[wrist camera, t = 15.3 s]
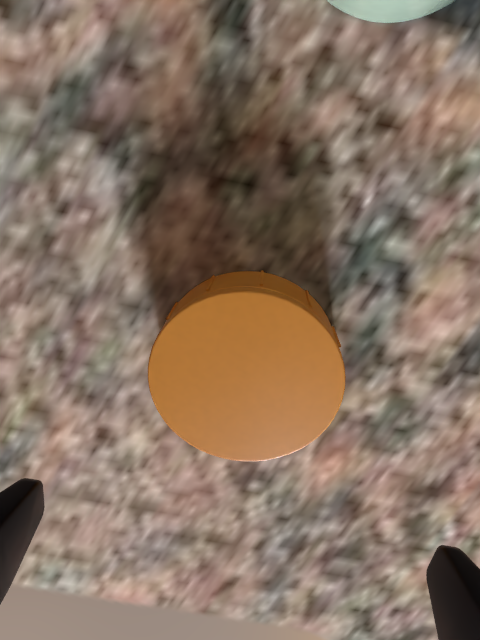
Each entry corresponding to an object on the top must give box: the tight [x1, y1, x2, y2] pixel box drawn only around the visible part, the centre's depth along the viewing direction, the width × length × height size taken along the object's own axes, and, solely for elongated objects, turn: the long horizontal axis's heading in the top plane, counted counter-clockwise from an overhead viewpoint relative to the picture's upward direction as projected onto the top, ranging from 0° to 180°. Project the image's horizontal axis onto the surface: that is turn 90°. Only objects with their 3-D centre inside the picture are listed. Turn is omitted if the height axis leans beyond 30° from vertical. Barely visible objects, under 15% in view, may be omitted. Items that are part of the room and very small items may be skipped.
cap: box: [148, 271, 345, 461], centre depth 15 cm, size 7×7×2 cm
